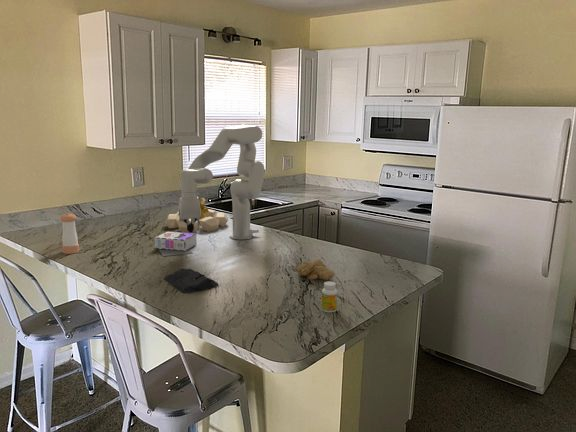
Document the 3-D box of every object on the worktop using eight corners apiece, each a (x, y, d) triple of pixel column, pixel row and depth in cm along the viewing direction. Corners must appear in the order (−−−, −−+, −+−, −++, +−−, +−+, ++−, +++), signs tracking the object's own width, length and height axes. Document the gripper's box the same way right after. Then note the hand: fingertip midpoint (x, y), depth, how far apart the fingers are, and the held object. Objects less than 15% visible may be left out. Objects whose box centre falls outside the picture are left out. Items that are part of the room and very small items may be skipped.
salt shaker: (73, 254, 227) (69, 214, 223) (59, 253, 229) (55, 213, 225) (82, 250, 234) (79, 211, 230) (69, 249, 236) (65, 210, 232)
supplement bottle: (319, 311, 167) (320, 284, 165) (323, 305, 172) (324, 279, 170) (334, 313, 165) (335, 287, 163) (338, 308, 170) (339, 281, 168)
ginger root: (293, 267, 210) (298, 250, 208) (328, 276, 210) (333, 259, 208) (292, 280, 194) (297, 262, 192) (330, 290, 195) (335, 272, 193)
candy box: (185, 239, 232) (153, 237, 236) (185, 251, 234) (154, 249, 237) (196, 233, 246) (166, 230, 249) (196, 244, 247) (166, 242, 250)
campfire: (238, 226, 288) (237, 198, 284) (192, 237, 263) (191, 206, 259) (201, 217, 310) (200, 191, 307) (155, 226, 286) (154, 198, 282)
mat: (185, 246, 244) (185, 245, 244) (192, 253, 232) (192, 252, 232) (157, 248, 238) (157, 248, 238) (163, 256, 226) (163, 255, 226)
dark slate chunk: (195, 272, 206) (194, 262, 205) (221, 287, 189) (221, 276, 188) (161, 279, 197) (160, 268, 196) (185, 296, 180) (184, 284, 179)
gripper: (202, 192, 239) (203, 228, 243) (172, 194, 233) (173, 231, 237) (206, 195, 232) (207, 232, 236) (175, 197, 226) (176, 235, 230)
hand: (190, 231), depth 237 cm, fingers closed
